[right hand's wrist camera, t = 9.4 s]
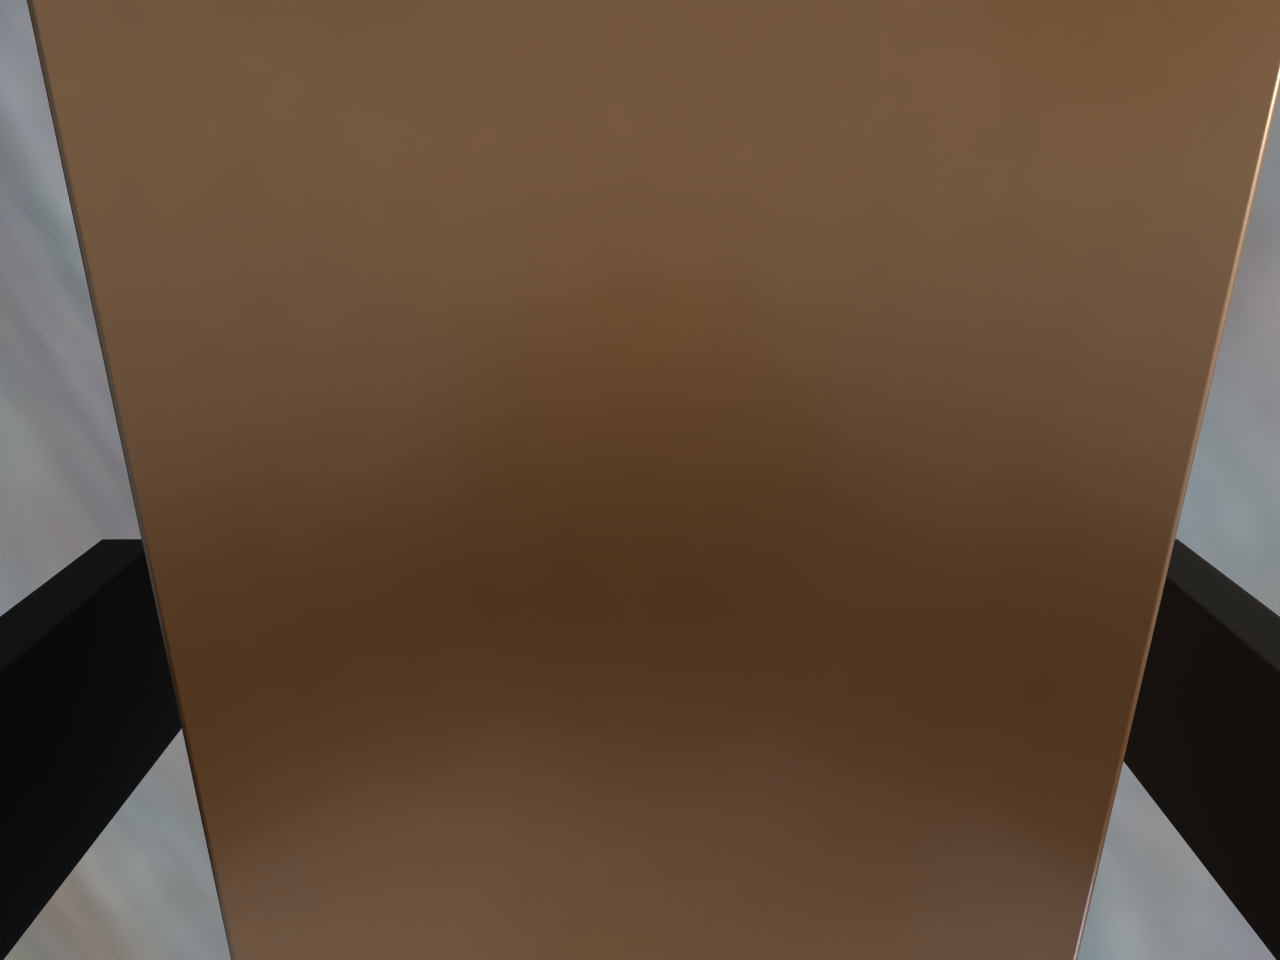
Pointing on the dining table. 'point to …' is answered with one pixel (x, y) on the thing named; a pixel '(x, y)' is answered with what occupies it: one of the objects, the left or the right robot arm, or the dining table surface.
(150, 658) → the right robot arm
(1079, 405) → the bar
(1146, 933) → the dining table surface
